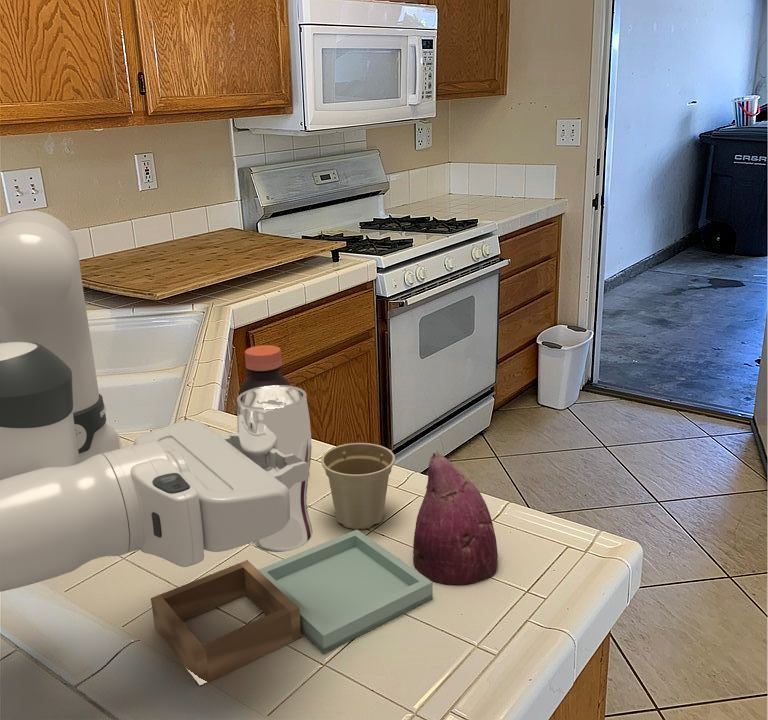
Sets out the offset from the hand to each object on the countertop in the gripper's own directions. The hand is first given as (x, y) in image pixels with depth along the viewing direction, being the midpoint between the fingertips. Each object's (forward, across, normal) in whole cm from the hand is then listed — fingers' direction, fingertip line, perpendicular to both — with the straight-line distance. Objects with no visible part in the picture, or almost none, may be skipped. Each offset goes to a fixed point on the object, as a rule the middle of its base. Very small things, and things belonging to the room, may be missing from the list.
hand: (284, 453), depth 74 cm
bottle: (+13, -28, -19) cm, 36 cm away
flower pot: (+17, -12, -19) cm, 28 cm away
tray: (+6, 0, -19) cm, 20 cm away
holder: (-7, -2, -19) cm, 20 cm away
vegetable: (+20, +2, -19) cm, 28 cm away
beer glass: (-1, 0, -9) cm, 9 cm away
